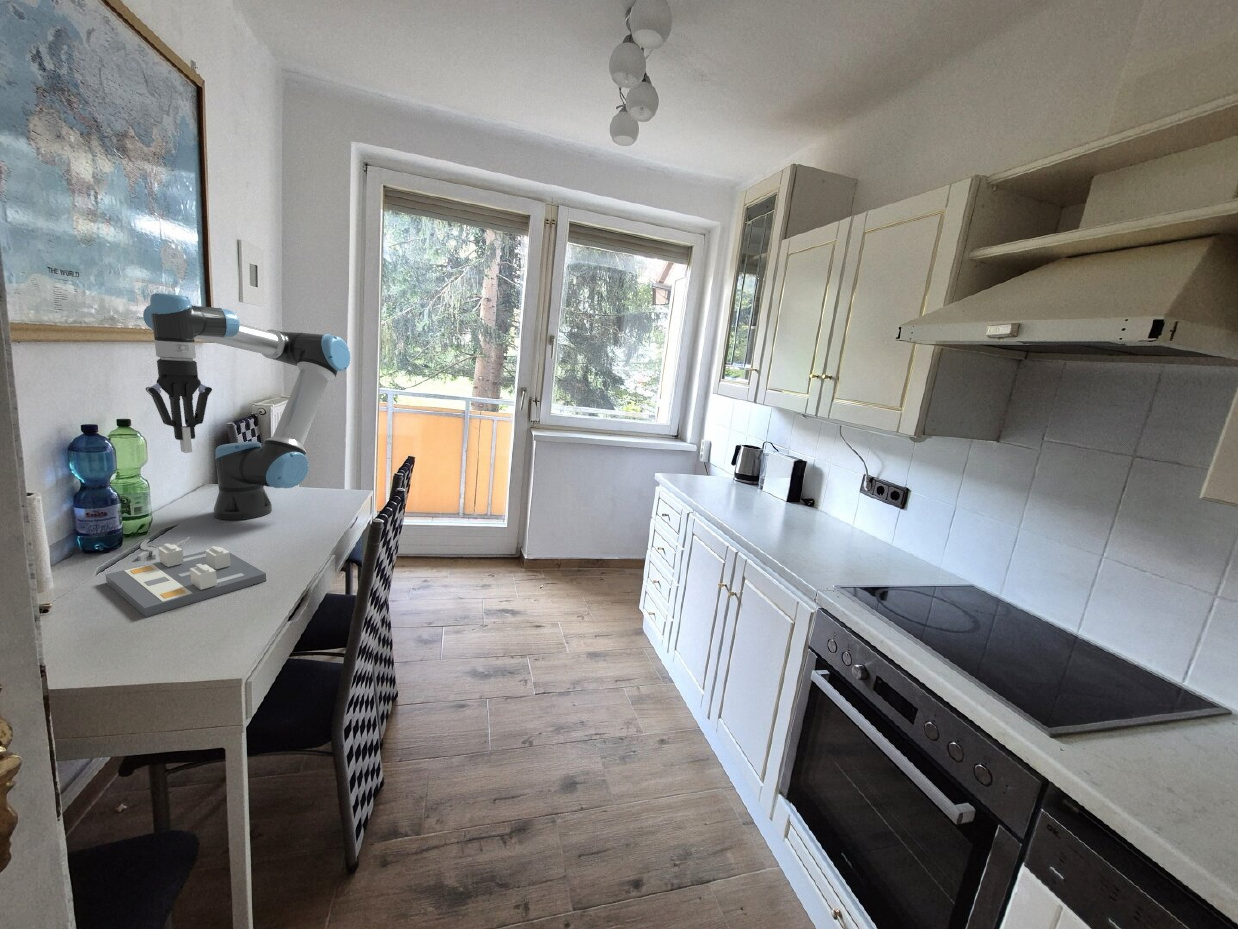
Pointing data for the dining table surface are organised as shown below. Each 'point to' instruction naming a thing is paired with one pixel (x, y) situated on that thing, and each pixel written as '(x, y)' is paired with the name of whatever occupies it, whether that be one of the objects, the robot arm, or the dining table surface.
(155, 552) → the pliers
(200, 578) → the white plastic block
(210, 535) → the dining table surface
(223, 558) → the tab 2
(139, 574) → the switch bank
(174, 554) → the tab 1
